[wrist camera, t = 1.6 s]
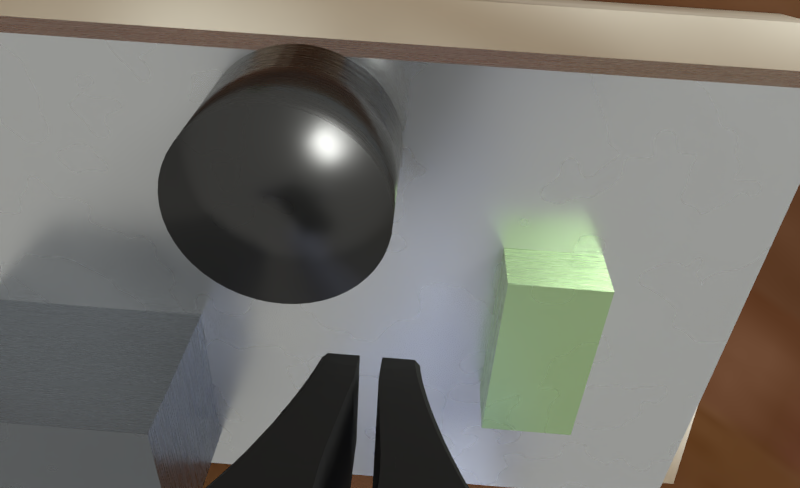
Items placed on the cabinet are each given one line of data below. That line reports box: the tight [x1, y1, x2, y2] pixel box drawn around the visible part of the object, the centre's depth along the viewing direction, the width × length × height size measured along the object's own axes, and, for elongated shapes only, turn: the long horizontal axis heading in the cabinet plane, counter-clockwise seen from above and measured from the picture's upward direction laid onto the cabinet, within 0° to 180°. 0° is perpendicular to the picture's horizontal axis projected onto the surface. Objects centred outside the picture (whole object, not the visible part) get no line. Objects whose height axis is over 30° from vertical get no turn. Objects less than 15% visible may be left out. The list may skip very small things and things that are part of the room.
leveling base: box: [0, 0, 800, 484], centre depth 21 cm, size 15×24×2 cm, turn 87°
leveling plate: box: [0, 16, 800, 488], centre depth 17 cm, size 14×22×5 cm, turn 87°
